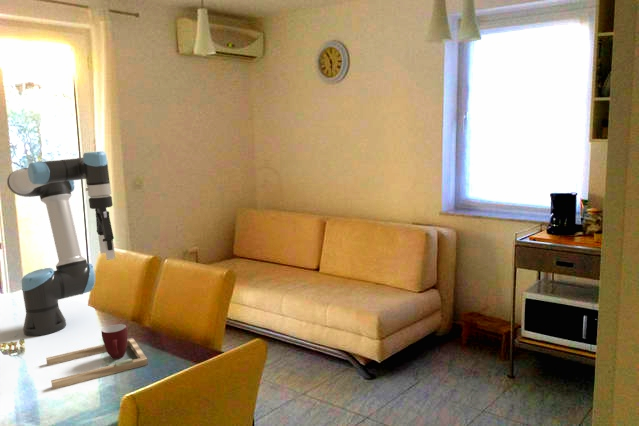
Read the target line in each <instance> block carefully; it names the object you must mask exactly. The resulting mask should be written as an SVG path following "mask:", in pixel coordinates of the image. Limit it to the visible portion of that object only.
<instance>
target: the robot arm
mask: <svg viewBox="0 0 639 426" xmlns="http://www.w3.org/2000/svg"><path fill="white" fill-rule="evenodd" d="M108 164H109V162H108V159H107V154H106V152H105V151H90V152H88V151H87V152H84V153H83V155H82V157H77V158H69V159H67V158H66V159H59V160H46V161H35V162H31V163H29V164H28V165H27V166H28V167H23V168H21V169H16V170H14V171H12V172H11V173H10V174H9V175H8V176H7V178H6V179H7V180H6V184H7V188H8V189H9V190H10V191H11V193H12V194H14V195H17V196H20V197H25V198H31V197H34V198H35V197H39V198H40V201H41V202H42V203H44V204H45V206H46V211H47V215H48V218H49V223H50V228H51V232H52V237H53V240H54V241H53V242H54V245H55V251H56V254H57V259H58V262H57V263H56V265H55V267H56V270H55V269H54V268H51V267H48V268H45V267H44V268H39V269H37V270H34V271H31V272H29V273H27V274H25V275H24V276H23V277H22V278H21V291H22V296H23V302H24V308H25V318H24V323H23V328H22V329H23V334H24V335H25V336H29V337H36V336H45V335H50V334H52V333H57V332H58V331H60V330H63V329H64V328H65V327H66V326H67V322H66V318H65V316H64V315H63V313H62V310H61V309H60V305H59V301H60V300H64V299H67V298H70V297H71V298H72V297H75V296H79V295H84V294H85V293H90V292H91V291H92V290H93V289H94V287H95V284H96V272H95V268H94V266H93V264H92V263H88V261H87V258H85V257H83V256H82V253H81V250H80V245H79V240H78V236H77V232H76V227H75V223H74V218H73V214H72V210H71V205H70V202H69V200H70V199H71V196H72V193H73V192H74V190H75V181H78V180H85V183H86V188H85V191H86V192H87V195H88V196H89V198H88V207H89V209H91V210H94V211H95V220H96V222H95V224H96V232H97V233H96V234H97V235H98V243H99V251H100V254H105V257H106V258H105V259H106V260H107V261H109V260H115V259H116V252H115V246H114V239H115V237H114V232H113V229H112V224H111V217H110V211H108V210H107V208H111V207H113V206H114V205H113V204H114V203H113V197H112V196H111V195H112V189H111V182H110V174H109V173H110V172H109V165H108Z"/></svg>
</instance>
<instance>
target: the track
mask: <svg viewBox="0 0 639 426" xmlns="http://www.w3.org/2000/svg"><path fill="white" fill-rule="evenodd" d="M127 347H130V349H131V350H132V352H133V353H134V355H135V357H137V358H134V359H132V358H128V359H123V360H121V361H120V360H119V361H117V362H115V363H114V364H110V365H107V366H103V367H99V368H95V369H91V370H87V371H83V372H81V373H76V374H72V375H67V376H63V377H60V378H55V379H52V380H51V388H52V390H55V389H58V388H59V389H60V388H63V387H67V386H70V385H75V384H78V383H82V382H86V381H89V380H94V379H97V378H101V377H105V376H109V375H113V374H117V373H120V372H124V371H129V370H131V369H133V370H134V369H136V368H140V367H143V366H147V365H148V364H149V363H148V358H147V356H146V355H145V354H144V351H143V350H142V349H141V348H140V346H139V344H138V343H137V342H136V340H135V339H134V337H130V338H128V339H127ZM105 352H106V353H107V351H106V348H105V345H104V344H100V345H97V346H92V347H86V348H83V349H79V350H78V349H77V350H75V351H70V352H66V353H62V354H58V355H54V356H49V357H46V358H45V360H46V365H47V366H51V365H52V366H53V365H56V364H61V363H64V362H68V361H73V360H77V359H81V358H85V357H88V356H89V357H90V356H93V355H98V354H101V353H102V354H103V353H105Z"/></svg>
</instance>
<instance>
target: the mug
mask: <svg viewBox="0 0 639 426" xmlns="http://www.w3.org/2000/svg"><path fill="white" fill-rule="evenodd" d="M128 332H129V331H128V325H126V324H121V323H117V324H116V323H115V324H111V325H108V326H105V327H104V328H102V329H101V337H102V341H103V345H105V348H106V353H107V355H109V356H110V358H111V359H112V360H117V359H121V358H123V357H124V356H125V355H126V351H127V348H128V346H127V339H129V338H128V337H129V335H128V334H129V333H128Z"/></svg>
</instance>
